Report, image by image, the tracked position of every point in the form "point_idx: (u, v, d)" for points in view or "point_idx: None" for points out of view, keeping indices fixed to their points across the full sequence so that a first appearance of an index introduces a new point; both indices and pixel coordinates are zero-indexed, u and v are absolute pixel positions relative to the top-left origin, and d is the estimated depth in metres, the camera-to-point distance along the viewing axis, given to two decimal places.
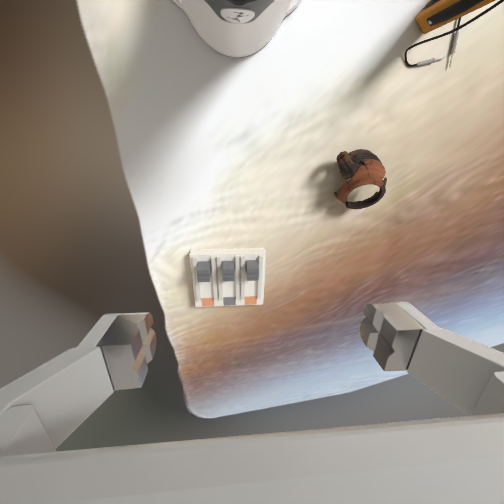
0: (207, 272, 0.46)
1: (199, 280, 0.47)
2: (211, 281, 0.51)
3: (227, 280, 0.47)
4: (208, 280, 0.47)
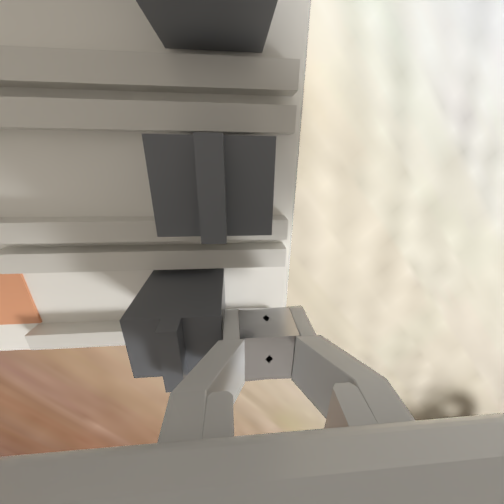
0: None
1: None
2: (90, 43, 0.07)
3: (160, 179, 0.05)
4: None
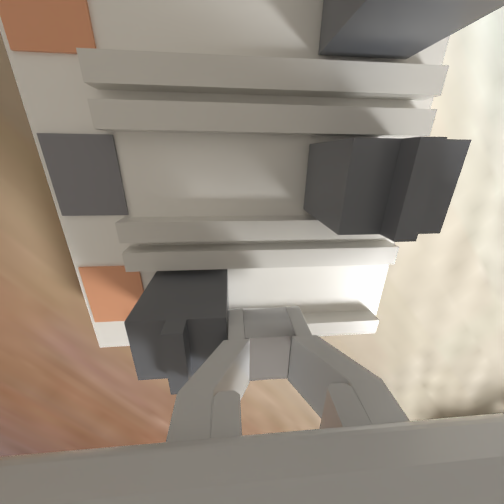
0: None
1: None
2: (246, 50, 0.07)
3: (357, 180, 0.06)
4: None
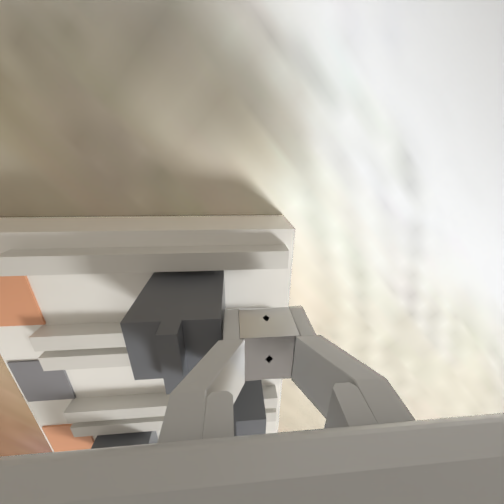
0: None
1: (138, 330, 0.07)
2: None
3: None
4: (145, 373, 0.08)
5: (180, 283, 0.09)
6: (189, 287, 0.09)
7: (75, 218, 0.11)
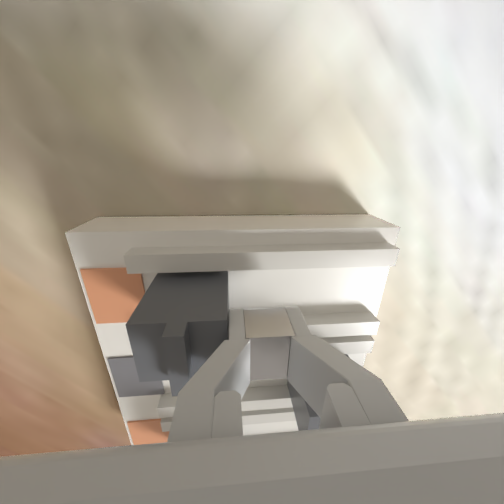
0: None
1: (143, 332, 0.07)
2: None
3: None
4: (150, 375, 0.08)
5: (184, 284, 0.09)
6: (194, 288, 0.09)
7: (175, 217, 0.11)
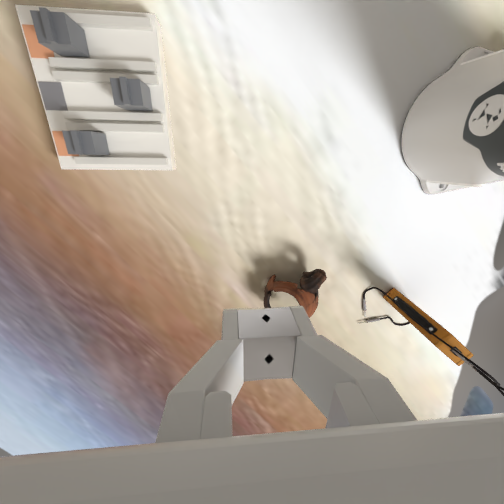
0: (63, 39, 0.23)
1: (36, 15, 0.22)
2: (97, 57, 0.26)
3: (114, 89, 0.24)
4: (41, 39, 0.22)
5: None
6: None
7: None
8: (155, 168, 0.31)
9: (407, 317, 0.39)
